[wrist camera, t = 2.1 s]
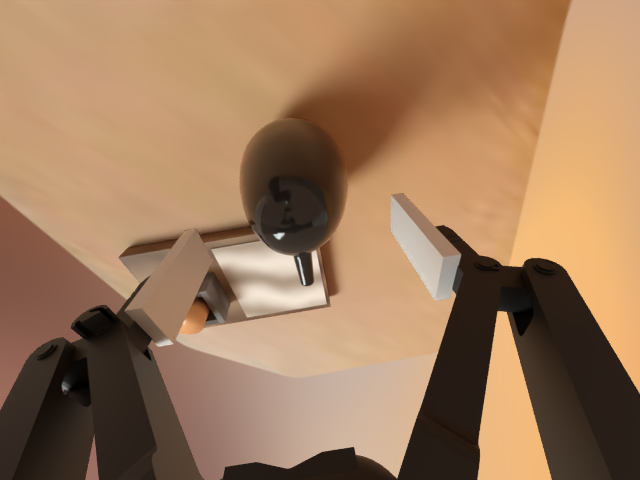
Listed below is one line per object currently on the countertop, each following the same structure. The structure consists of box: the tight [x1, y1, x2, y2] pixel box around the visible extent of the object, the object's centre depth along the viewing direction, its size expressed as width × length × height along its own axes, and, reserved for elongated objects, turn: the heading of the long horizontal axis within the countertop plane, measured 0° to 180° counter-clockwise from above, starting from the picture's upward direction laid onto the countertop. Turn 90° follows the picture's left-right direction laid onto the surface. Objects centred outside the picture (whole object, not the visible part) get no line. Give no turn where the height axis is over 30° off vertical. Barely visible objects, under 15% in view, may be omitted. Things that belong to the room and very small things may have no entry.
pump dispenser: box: [240, 118, 348, 286], centre depth 21 cm, size 10×10×15 cm
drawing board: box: [118, 227, 331, 328], centre depth 33 cm, size 16×25×6 cm, turn 98°
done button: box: [179, 297, 210, 334], centre depth 31 cm, size 4×4×3 cm
